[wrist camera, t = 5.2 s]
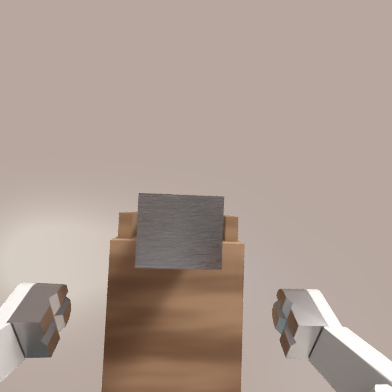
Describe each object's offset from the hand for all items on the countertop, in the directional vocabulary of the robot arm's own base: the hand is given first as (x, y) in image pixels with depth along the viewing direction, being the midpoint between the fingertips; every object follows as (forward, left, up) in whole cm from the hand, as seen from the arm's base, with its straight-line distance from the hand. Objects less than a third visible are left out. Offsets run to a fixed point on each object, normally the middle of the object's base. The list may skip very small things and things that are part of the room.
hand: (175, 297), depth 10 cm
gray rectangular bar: (-7, +8, +1) cm, 10 cm away
